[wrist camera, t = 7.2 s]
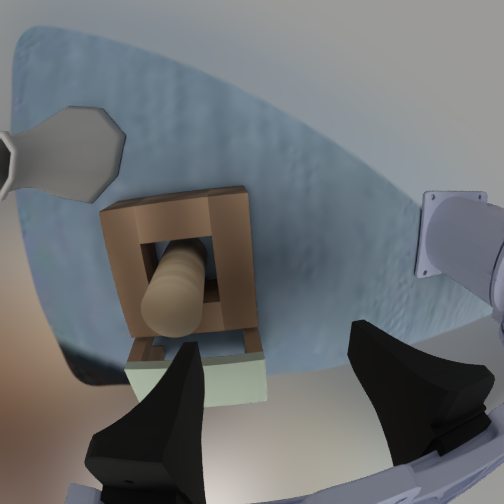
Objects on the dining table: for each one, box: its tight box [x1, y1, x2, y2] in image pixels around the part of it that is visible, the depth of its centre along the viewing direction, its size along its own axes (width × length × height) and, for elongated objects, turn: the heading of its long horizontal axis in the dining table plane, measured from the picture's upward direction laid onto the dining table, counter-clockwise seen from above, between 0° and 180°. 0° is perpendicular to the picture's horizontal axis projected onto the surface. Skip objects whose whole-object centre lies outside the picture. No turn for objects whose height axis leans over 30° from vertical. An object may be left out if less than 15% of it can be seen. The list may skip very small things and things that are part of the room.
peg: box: [141, 237, 207, 338], centre depth 17 cm, size 3×3×8 cm
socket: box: [99, 186, 258, 338], centre depth 19 cm, size 9×9×4 cm
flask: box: [0, 106, 125, 204], centre depth 13 cm, size 7×7×10 cm
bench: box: [124, 327, 268, 407], centre depth 20 cm, size 9×4×6 cm, turn 94°
